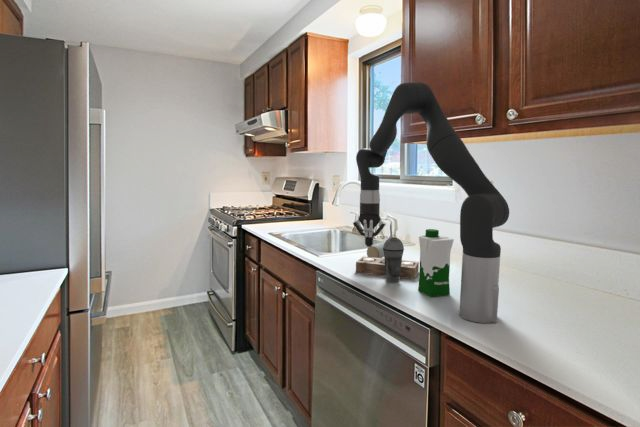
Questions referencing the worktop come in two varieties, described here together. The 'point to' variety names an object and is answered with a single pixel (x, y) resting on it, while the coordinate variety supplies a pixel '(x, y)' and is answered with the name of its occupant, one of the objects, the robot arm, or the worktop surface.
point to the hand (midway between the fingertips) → (369, 246)
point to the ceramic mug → (376, 250)
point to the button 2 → (407, 263)
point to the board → (379, 268)
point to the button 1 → (368, 259)
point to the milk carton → (434, 263)
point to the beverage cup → (393, 258)
